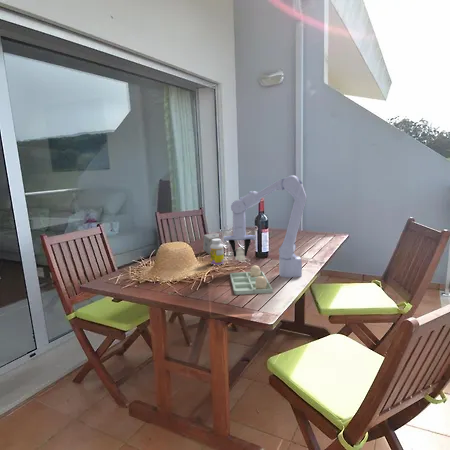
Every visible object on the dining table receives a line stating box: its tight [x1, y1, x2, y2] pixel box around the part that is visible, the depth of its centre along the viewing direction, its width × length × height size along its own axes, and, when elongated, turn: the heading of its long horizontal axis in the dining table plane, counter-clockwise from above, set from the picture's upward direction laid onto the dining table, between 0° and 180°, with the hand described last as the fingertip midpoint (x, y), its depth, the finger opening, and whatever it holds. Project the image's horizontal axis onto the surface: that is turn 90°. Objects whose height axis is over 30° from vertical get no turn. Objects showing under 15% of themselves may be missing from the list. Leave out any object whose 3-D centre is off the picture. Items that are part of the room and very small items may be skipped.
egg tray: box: [229, 270, 274, 296], centre depth 135 cm, size 15×22×2 cm
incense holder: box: [202, 232, 220, 255], centre depth 189 cm, size 10×8×10 cm
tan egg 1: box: [249, 264, 262, 277], centre depth 142 cm, size 4×4×5 cm
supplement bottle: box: [209, 238, 225, 266], centre depth 165 cm, size 7×7×13 cm
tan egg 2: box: [255, 276, 268, 289], centre depth 128 cm, size 4×4×5 cm
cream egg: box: [234, 247, 246, 261], centre depth 150 cm, size 4×4×5 cm
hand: (240, 255), depth 150 cm, fingers closed on cream egg, 4 cm apart
